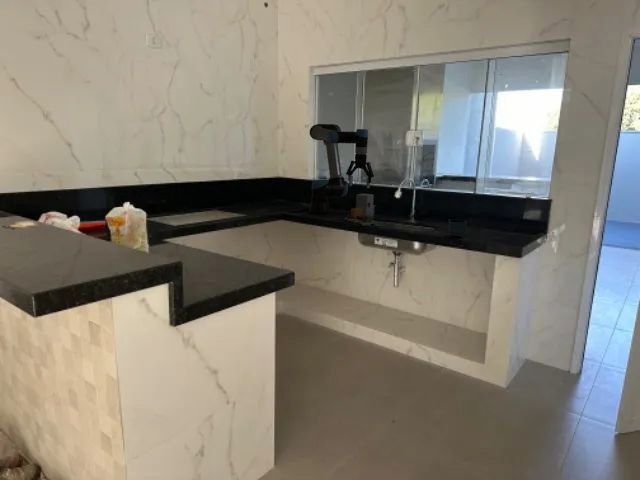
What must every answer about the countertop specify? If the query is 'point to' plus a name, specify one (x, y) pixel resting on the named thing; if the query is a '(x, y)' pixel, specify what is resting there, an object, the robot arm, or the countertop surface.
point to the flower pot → (457, 227)
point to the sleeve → (356, 212)
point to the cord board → (361, 220)
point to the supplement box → (365, 204)
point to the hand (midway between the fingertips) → (359, 186)
